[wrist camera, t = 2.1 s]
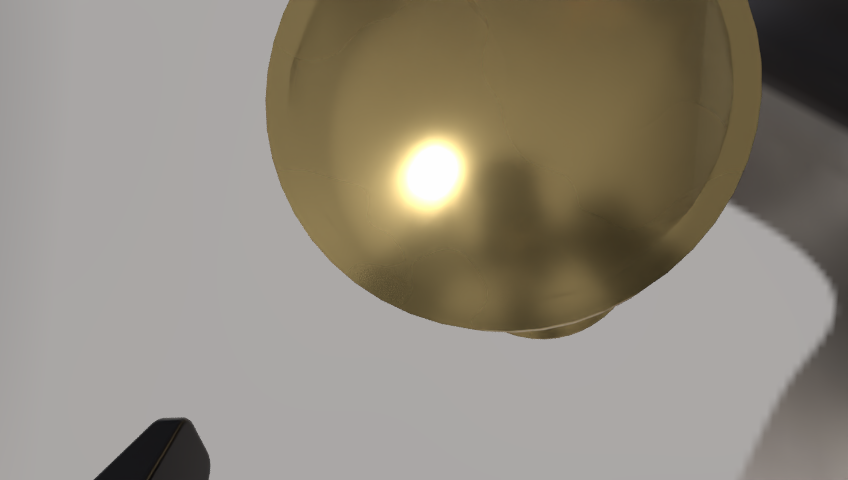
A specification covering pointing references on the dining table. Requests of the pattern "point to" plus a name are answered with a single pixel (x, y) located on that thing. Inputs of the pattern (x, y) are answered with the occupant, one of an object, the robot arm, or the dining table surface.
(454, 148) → the gold tall rounded piece
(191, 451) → the robot arm
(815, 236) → the dining table surface
